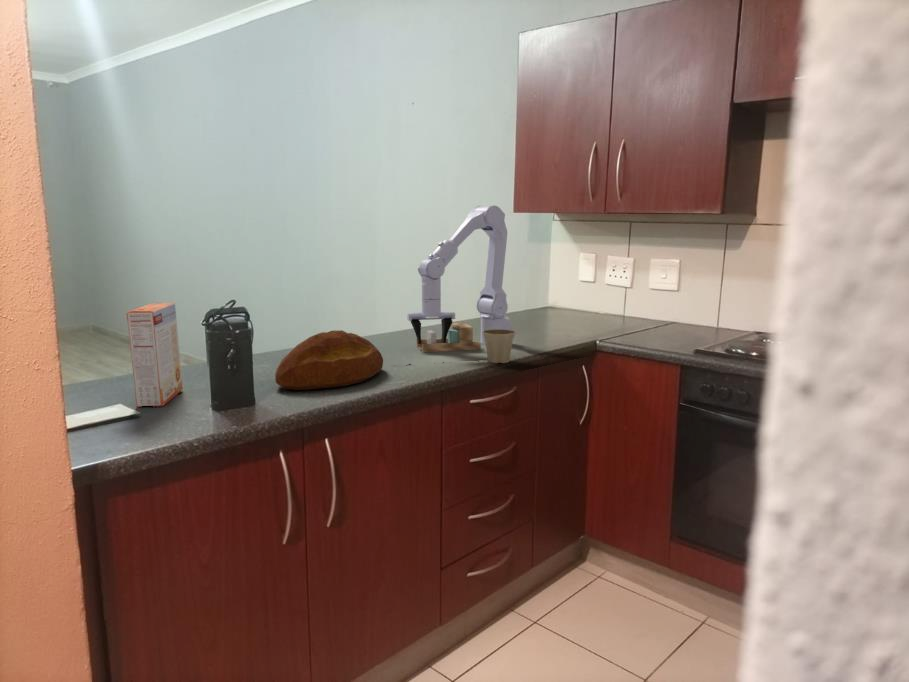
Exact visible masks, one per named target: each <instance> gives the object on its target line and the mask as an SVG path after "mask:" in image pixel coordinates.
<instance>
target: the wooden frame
mask: <svg viewBox="0 0 909 682" xmlns="http://www.w3.org/2000/svg"><path fill="white" fill-rule="evenodd" d="M457 329H459V343H448V337H446V343H443V342H442V337H439V338H437V337H436V344H427V338H421V344H418V343H417V338H416V339H415V341H416V343H415V344H416V345H415V346H416V347H417V348H418V349H419V350H420V351H421V352H422V353H432V352H434V353H435V352H453V351H471V350H473V351H475V350H476V351H477V350H481V345H482V343H481V341H473V339H474V337H473V336H474V332H473V331H474V328H473V326H472V325H469V324H467V323H466V322H452V325H451V330H457Z"/></svg>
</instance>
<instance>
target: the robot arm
mask: <svg viewBox="0 0 909 682" xmlns="http://www.w3.org/2000/svg"><path fill="white" fill-rule="evenodd" d="M505 217H506V214H505V212H504V211H503V209H502V208H500V206H497V205H486V206H485V205H484V206H482V205H477V206H475V207H474V208H473V209H472V210H471V211H470V212H469V213H468V214H467V216H466V218H465V219H464V220H463V222H462V223H461V224H460V226H459V227H458V229H456V231H455V232H454V234H453V235H452V236H451V237H450V238H449V239H444V240H442V241H439V242H438V243H437V245H438V246H437V248H436V249H435V250H433V252H431V253H429V254H428V258H426V259H423V260H422V261H421V262H420V264H419V267H418V268H417V271H418V274H419V275H420V277H421V312H414V313H406V314H407V318H406V319H407V321H408V322H409V321H410V323H411V325H412V328H413V331H414V333H415V336H416V339H417V343H418V344H421V339H422V335H421V334H422V332H421V331H422V323H421V321H424V320H426V321H428V320H429V321H430V320H440V322H441V338H442V342H443V343H446V338H448V331H449V330H451V329H450V328H451V327H452V323H453V320H455V319H456V312H454V311H448V312H447V311H442V309H441V308H442V304H441V303H442V301H441V300H442V298H441V297H442V296H441V294H442V293H441V292H442V291H441V289H442V288H441V286H442V284H441V283H442V282H441V281H442V279H441V278H442V277H443V275H444V274H445V269H446V267H447V266H448V264H449V263H450V262H451V261H452V260H453V259H454V258H455V257H456V255H457V254H458V253H459V252H458V251H459V250H458V249H459V247H460V245H461V244H462V243H463V242H464V241H466V239H467V238H468V237H469V236H471V235H472V234H473V233H474V231H477V230H480V229H481V230H482V231H484V232H485V234H486V235H487V236H488V238H489V241H488V251H487V262H486V273H485V282H484V287H483V288H482V289H481V291H480V292H479V293H480V294H479V298H478V300H477V301H476V310H477V312H478V313H479V315H480V342H481V344H485V345H486V342H485V338H484V333H483V331H484V330H490V329H505V330H512V324H511V318H509V317H507V316H505V315H506V314H507V312H508V309H509V307H508V305H509V304H508V302H507V293H506V292H505V290H504V288H503V281H504V273H505V272H504V270H505V261H506V260H505V259H506V251H507V241H508V229H507V225H506V222H505V219H506V218H505Z"/></svg>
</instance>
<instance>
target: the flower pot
mask: <svg viewBox="0 0 909 682" xmlns="http://www.w3.org/2000/svg"><path fill="white" fill-rule="evenodd" d="M483 333H484V338H485V342H486V344H485V348H486V356H487V363H491V364H498V363H501V364H507V363H508V364H509V362H510V360H511V352H512V346H513V342H514V339H515V334H516V333H517V332H516V331H515V330H512V329H511V330H505V329H490V330H484V331H483Z"/></svg>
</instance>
